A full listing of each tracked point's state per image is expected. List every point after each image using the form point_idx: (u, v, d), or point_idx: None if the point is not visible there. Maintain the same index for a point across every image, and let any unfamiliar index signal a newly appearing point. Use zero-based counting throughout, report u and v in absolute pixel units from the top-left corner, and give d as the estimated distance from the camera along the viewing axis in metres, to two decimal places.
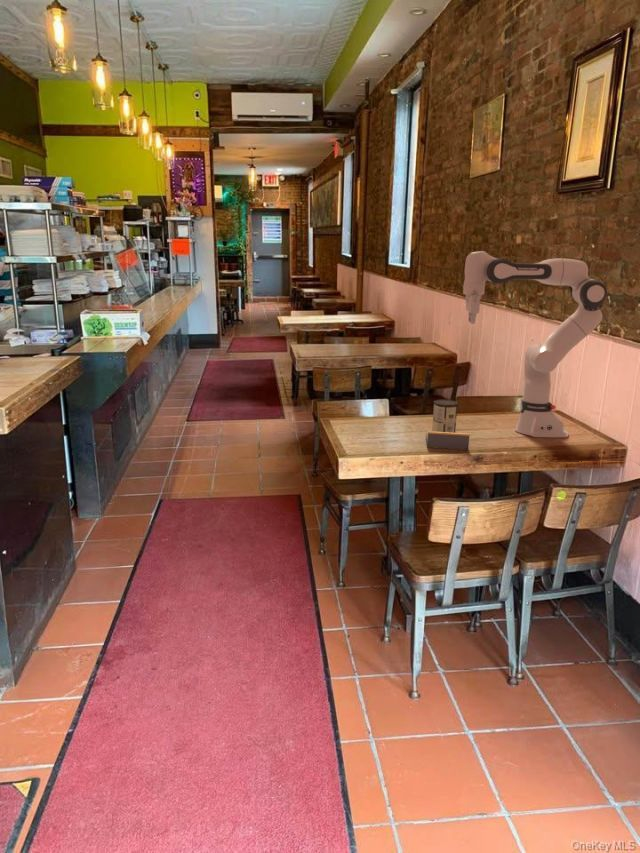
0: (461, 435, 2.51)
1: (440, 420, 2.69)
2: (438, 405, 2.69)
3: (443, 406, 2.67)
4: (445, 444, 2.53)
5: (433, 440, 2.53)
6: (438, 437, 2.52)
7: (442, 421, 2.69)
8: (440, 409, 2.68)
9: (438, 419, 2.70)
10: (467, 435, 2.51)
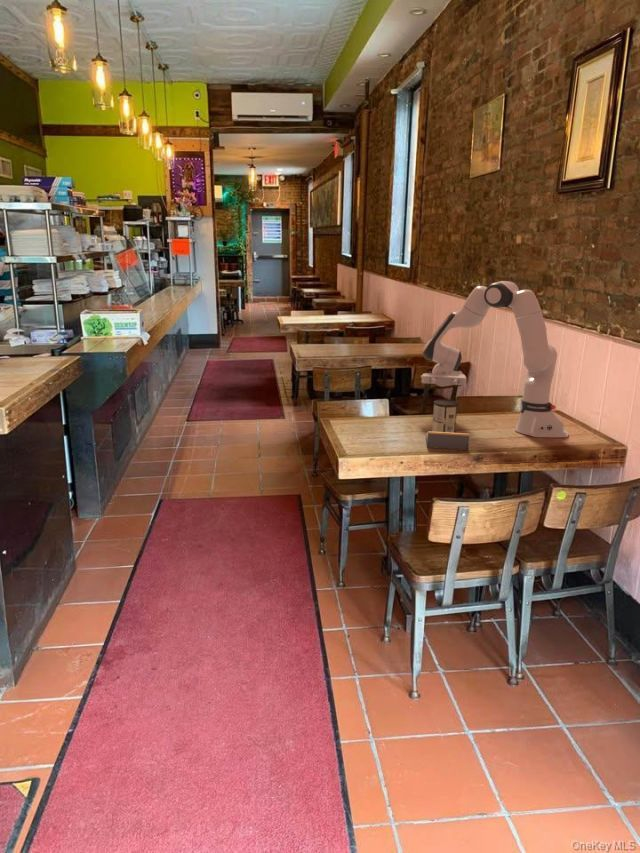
0: (461, 435, 2.51)
1: (440, 420, 2.69)
2: (438, 405, 2.69)
3: (443, 406, 2.67)
4: (445, 444, 2.53)
5: (433, 440, 2.53)
6: (438, 437, 2.52)
7: (442, 421, 2.69)
8: (440, 409, 2.68)
9: (438, 419, 2.70)
10: (467, 435, 2.51)
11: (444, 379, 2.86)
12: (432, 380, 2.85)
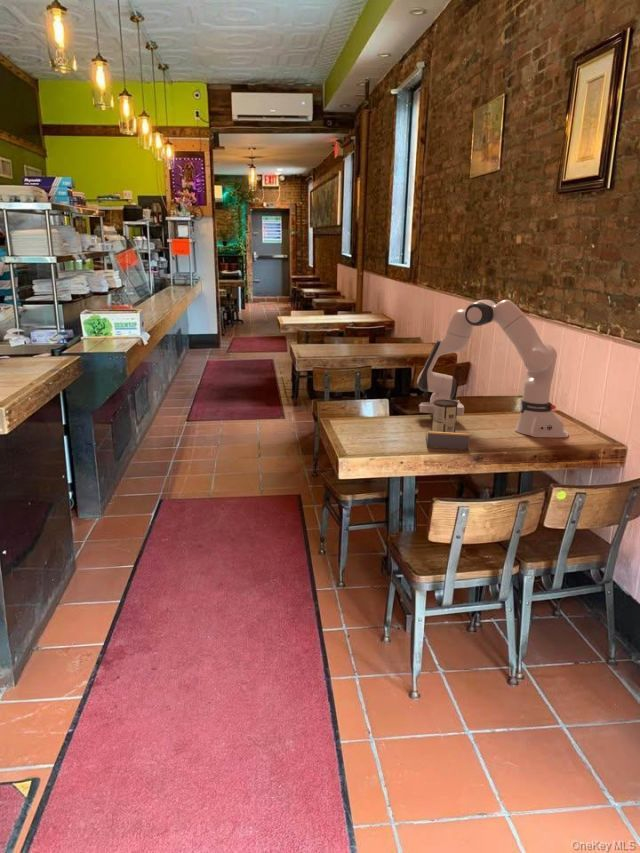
0: (461, 435, 2.51)
1: (440, 420, 2.69)
2: (438, 405, 2.69)
3: (443, 406, 2.67)
4: (445, 444, 2.53)
5: (433, 440, 2.53)
6: (438, 437, 2.52)
7: (442, 421, 2.69)
8: (440, 409, 2.68)
9: (438, 419, 2.70)
10: (467, 435, 2.51)
11: None
12: None
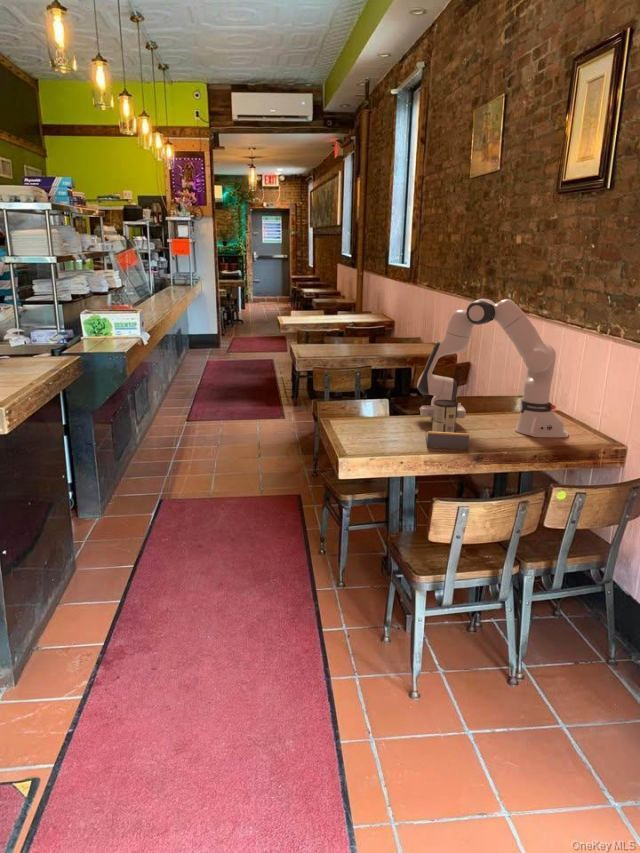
0: (461, 435, 2.51)
1: (440, 420, 2.69)
2: (438, 405, 2.68)
3: (443, 406, 2.67)
4: (445, 444, 2.53)
5: (433, 440, 2.53)
6: (438, 437, 2.52)
7: (442, 421, 2.69)
8: (440, 409, 2.68)
9: (438, 419, 2.70)
10: (467, 435, 2.51)
11: None
12: None
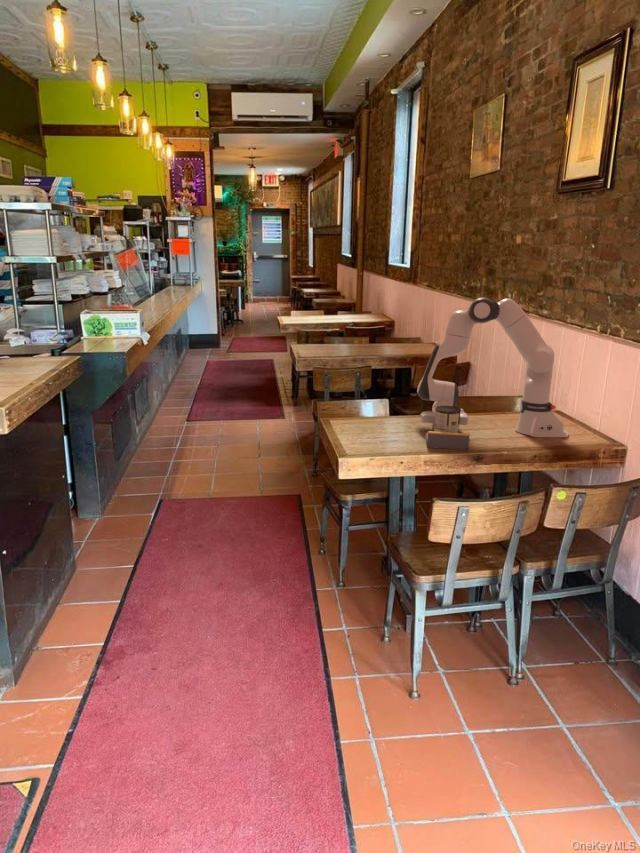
0: (461, 435, 2.51)
1: (442, 427, 2.58)
2: (440, 412, 2.57)
3: (445, 413, 2.56)
4: (445, 444, 2.53)
5: (433, 440, 2.53)
6: (438, 437, 2.52)
7: (445, 428, 2.58)
8: (442, 416, 2.57)
9: (440, 426, 2.58)
10: (467, 435, 2.51)
11: None
12: None
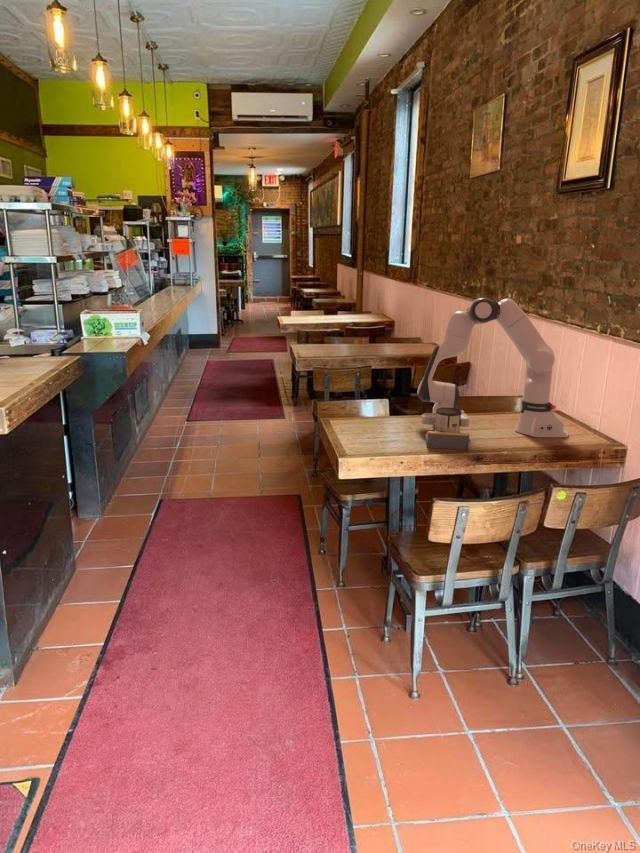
0: (461, 435, 2.51)
1: (442, 429, 2.55)
2: (441, 414, 2.54)
3: (446, 415, 2.53)
4: (445, 444, 2.53)
5: (433, 440, 2.53)
6: (438, 437, 2.52)
7: (445, 430, 2.55)
8: (443, 418, 2.54)
9: (441, 428, 2.56)
10: (467, 435, 2.51)
11: None
12: None
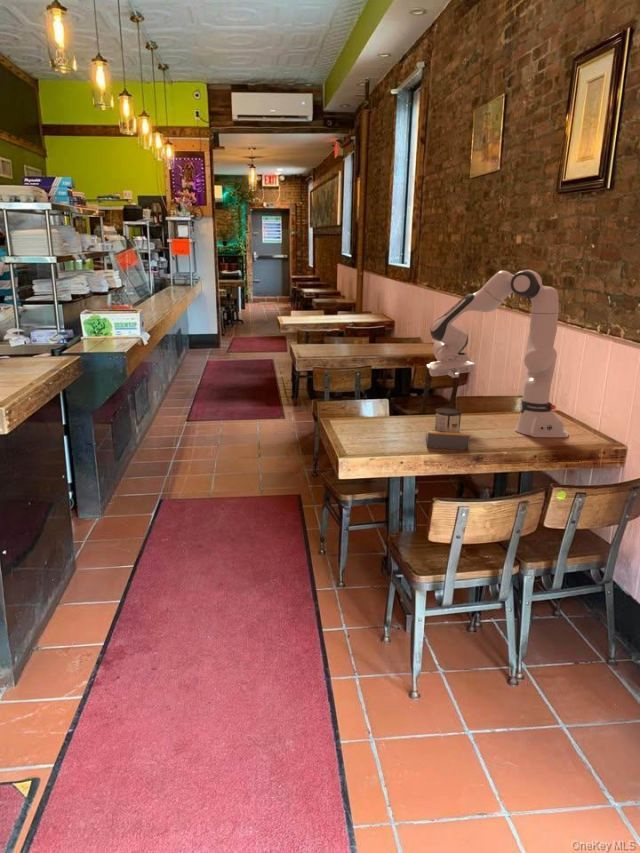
0: (461, 435, 2.51)
1: (442, 429, 2.55)
2: (441, 414, 2.54)
3: (446, 415, 2.53)
4: (445, 444, 2.53)
5: (433, 440, 2.53)
6: (438, 437, 2.52)
7: (445, 430, 2.55)
8: (443, 418, 2.54)
9: (441, 428, 2.56)
10: (467, 435, 2.51)
11: (453, 368, 2.80)
12: (449, 373, 2.78)
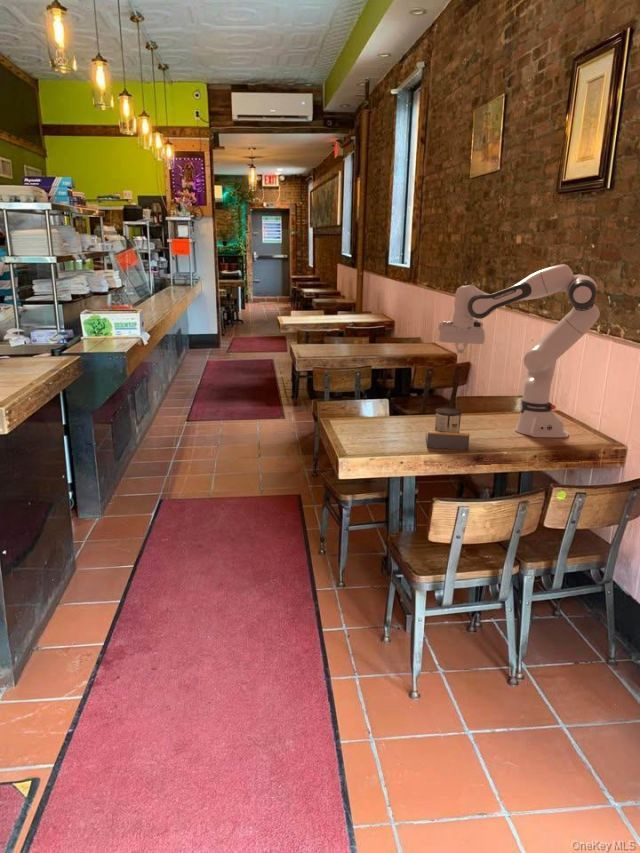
0: (461, 435, 2.51)
1: (442, 429, 2.55)
2: (441, 414, 2.54)
3: (446, 415, 2.53)
4: (445, 444, 2.53)
5: (433, 440, 2.53)
6: (438, 437, 2.52)
7: (445, 430, 2.55)
8: (443, 418, 2.54)
9: (441, 428, 2.56)
10: (467, 435, 2.51)
11: None
12: None
